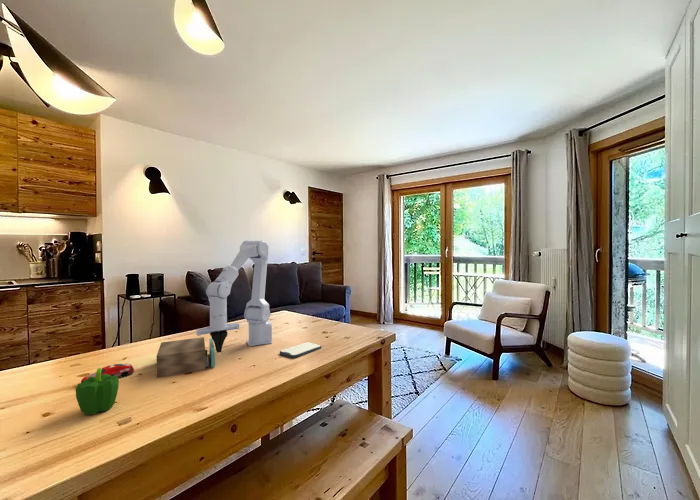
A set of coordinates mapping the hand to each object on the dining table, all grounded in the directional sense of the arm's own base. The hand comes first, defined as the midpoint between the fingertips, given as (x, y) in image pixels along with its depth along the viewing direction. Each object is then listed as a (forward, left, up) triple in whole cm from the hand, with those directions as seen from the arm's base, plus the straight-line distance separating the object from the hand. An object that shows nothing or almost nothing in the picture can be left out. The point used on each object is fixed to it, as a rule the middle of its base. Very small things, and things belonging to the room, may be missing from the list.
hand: (218, 351), depth 113 cm
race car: (+32, +2, -3) cm, 32 cm away
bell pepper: (+30, +24, -3) cm, 38 cm away
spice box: (+12, 0, -3) cm, 12 cm away
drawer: (+9, 0, -3) cm, 9 cm away
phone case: (-30, +5, -4) cm, 30 cm away
